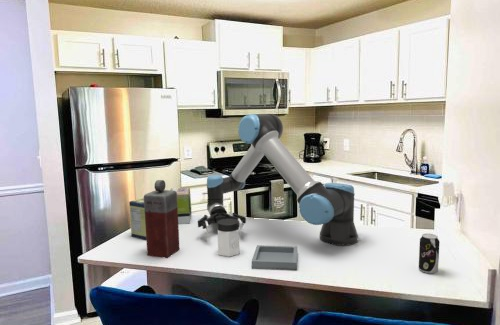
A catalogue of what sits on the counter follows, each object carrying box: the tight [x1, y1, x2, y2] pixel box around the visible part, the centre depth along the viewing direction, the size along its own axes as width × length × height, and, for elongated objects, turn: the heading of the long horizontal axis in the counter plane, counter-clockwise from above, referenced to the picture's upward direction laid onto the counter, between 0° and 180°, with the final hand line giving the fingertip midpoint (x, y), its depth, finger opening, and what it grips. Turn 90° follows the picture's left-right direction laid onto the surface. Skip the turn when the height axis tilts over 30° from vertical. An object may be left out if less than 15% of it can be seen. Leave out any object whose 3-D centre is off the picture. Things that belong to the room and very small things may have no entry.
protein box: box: [129, 197, 146, 241], centre depth 164 cm, size 10×16×16 cm
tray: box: [251, 244, 298, 271], centre depth 133 cm, size 15×15×3 cm
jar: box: [216, 219, 240, 258], centre depth 141 cm, size 9×8×12 cm
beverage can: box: [418, 232, 441, 275], centre depth 121 cm, size 6×6×12 cm
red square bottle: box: [143, 179, 180, 259], centre depth 141 cm, size 9×11×28 cm
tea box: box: [170, 187, 193, 225], centre depth 184 cm, size 15×10×15 cm, turn 6°
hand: (224, 227), depth 150 cm, fingers open, 13 cm apart
